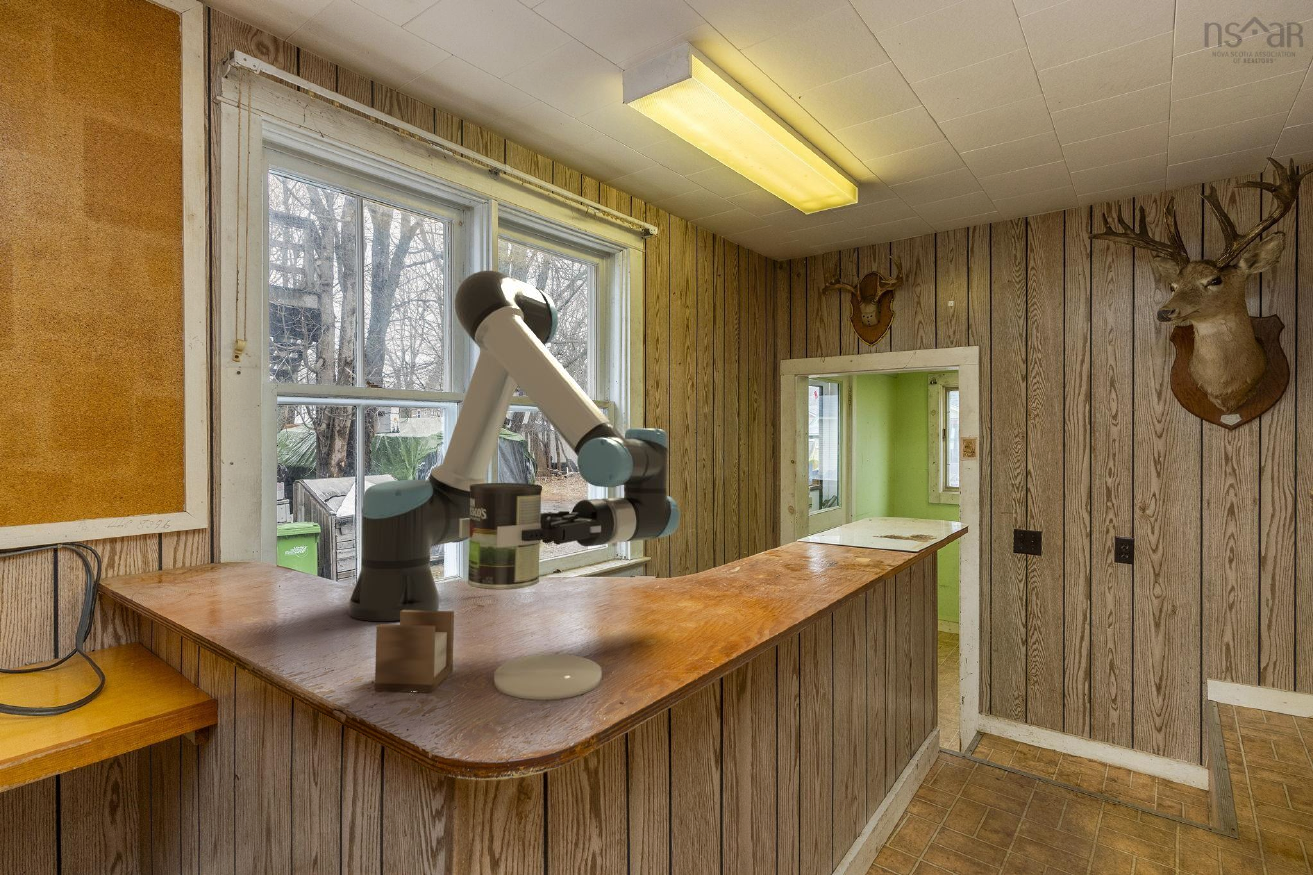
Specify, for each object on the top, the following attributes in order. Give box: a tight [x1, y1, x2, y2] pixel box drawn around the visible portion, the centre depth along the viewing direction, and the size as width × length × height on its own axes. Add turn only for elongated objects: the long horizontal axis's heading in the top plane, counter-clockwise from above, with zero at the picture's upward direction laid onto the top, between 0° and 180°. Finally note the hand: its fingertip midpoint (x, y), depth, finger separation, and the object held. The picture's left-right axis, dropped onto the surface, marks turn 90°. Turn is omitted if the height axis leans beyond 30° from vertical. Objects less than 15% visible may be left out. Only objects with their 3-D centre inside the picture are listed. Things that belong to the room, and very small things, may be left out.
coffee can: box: [467, 482, 543, 591], centre depth 94 cm, size 10×10×14 cm
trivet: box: [493, 653, 603, 701], centre depth 86 cm, size 14×14×1 cm
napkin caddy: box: [374, 610, 455, 693], centre depth 84 cm, size 7×8×8 cm
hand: (478, 532), depth 91 cm, fingers closed on coffee can, 10 cm apart
